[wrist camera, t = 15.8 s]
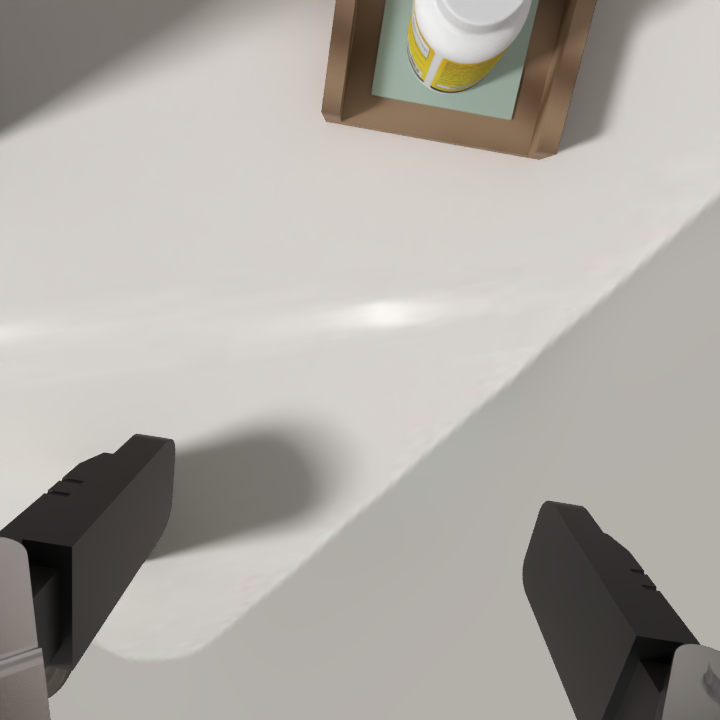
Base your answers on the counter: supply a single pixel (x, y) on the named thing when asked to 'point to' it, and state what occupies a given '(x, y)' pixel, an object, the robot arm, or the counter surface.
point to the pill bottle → (461, 40)
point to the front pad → (482, 99)
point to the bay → (515, 137)
